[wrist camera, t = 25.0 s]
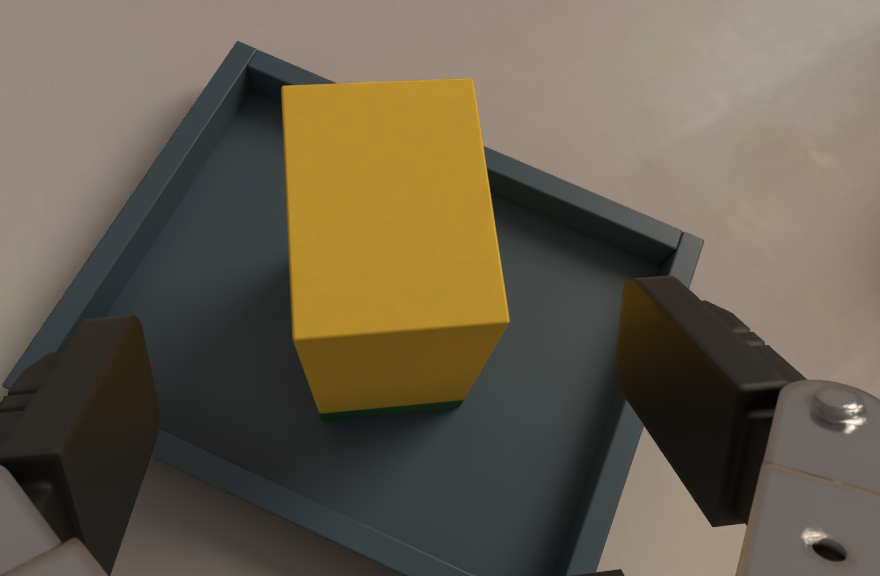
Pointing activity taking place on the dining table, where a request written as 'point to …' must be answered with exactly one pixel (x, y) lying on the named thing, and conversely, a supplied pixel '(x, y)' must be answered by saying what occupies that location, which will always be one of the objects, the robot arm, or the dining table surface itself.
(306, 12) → the dining table surface
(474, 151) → the sponge
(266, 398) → the tray
